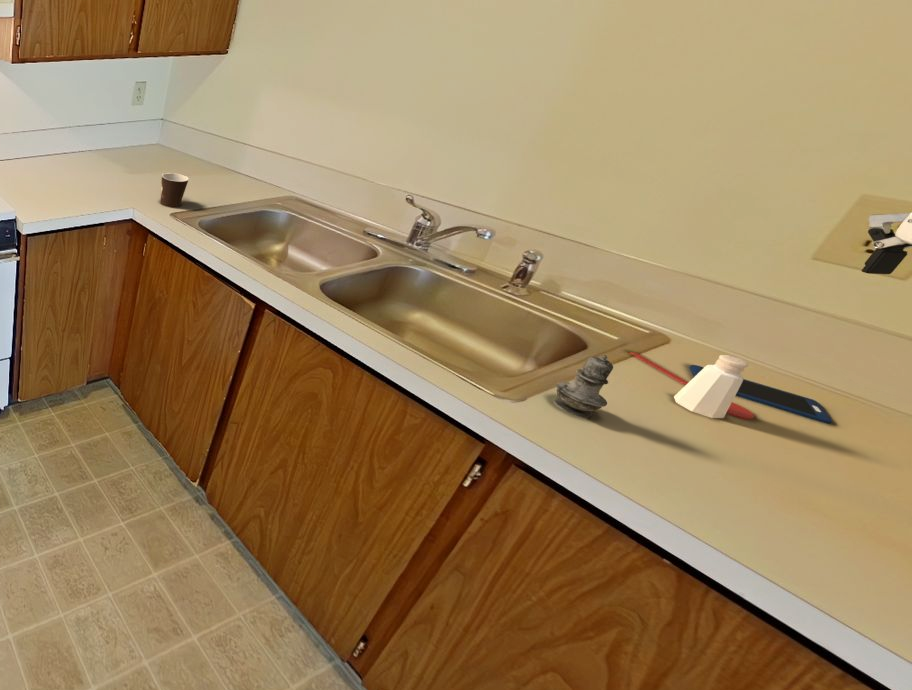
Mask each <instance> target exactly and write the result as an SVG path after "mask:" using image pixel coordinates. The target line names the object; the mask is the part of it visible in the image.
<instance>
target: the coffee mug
mask: <svg viewBox="0 0 912 690" xmlns="http://www.w3.org/2000/svg"><path fill="white" fill-rule="evenodd" d="M189 180H190V178H189V177H188V176H186V175H185V174H184V175H183V174H180V173H174V172H166V173H162V174H161V182H160V183H161V185H160V204H161V205H162V206H164V207H166V208H179V207H181V203H182V200H183V197H184V195H185V192H186V189H187V186H188V183H189Z"/></svg>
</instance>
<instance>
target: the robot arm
mask: <svg viewBox="0 0 912 690" xmlns="http://www.w3.org/2000/svg"><path fill="white" fill-rule="evenodd" d="M867 220H868V230H867V233H868V235H869V237H870V238H871V240H872V241H873V242H872V245H871V246H872V247H873V248H875V250H874V251H872V253H871V254H870V255H869V257H868V258H867V259H866V261H865V262H864V266H863V268H862V269H861V272H862V273H864V274H868V275H869V274H870V275H891V274H892V273H893V272H894V271H895V270H896V268H898V266H900V264H901V263H902V262H903V260H904V259H905V258H906V257H907V256H908V251H906V249H909V248H912V212H910V213H883V214H869V216H868V217H867ZM894 223H901V224H900V225H899V226H898V228H897V229H896V231H895V232H894V230H892V229H891V228H892V224H894Z"/></svg>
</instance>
